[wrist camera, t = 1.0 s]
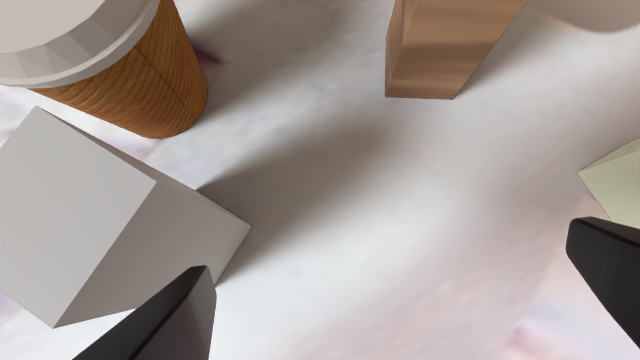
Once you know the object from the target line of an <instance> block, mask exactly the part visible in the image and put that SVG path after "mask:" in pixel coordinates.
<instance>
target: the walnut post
mask: <svg viewBox="0 0 640 360" xmlns="http://www.w3.org/2000/svg"><path fill="white" fill-rule="evenodd" d="M527 1H528V0H396V1H395V5H394V9H393V13H392V17H391V20H390V24H389V28H388V32H387V36H386V69H385V97H400V98H424V99H449V100H452V99H453V98H454V97H455V95H456V94H457V93H458V91H459V90H460V89H461V88H462V86H463V85H464V84H465V82H466V81H467V80H468V78H469V77H470V76H471V74H472V73H473V72H474V71H475V69H476V68H477V67H478V65H479V64H480V63H481V61H482V60H483V59H484V57H485V56H486V55H487V54H488V52H489V51H490V50H491V48H492V47H493V46H494V44H495V43H496V42H497V40H498V39H499V38H500V37H501V35H502V34H503V33H504V31H505V30H506V29H507V27H508V26H509V25H510V23H511V22H512V21H513V20H514V18H515V17H516V16H517V14H518V13H519V12H520V10H521V9H522V8H523V6H524V5H525V4H526V3H527Z"/></svg>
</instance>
